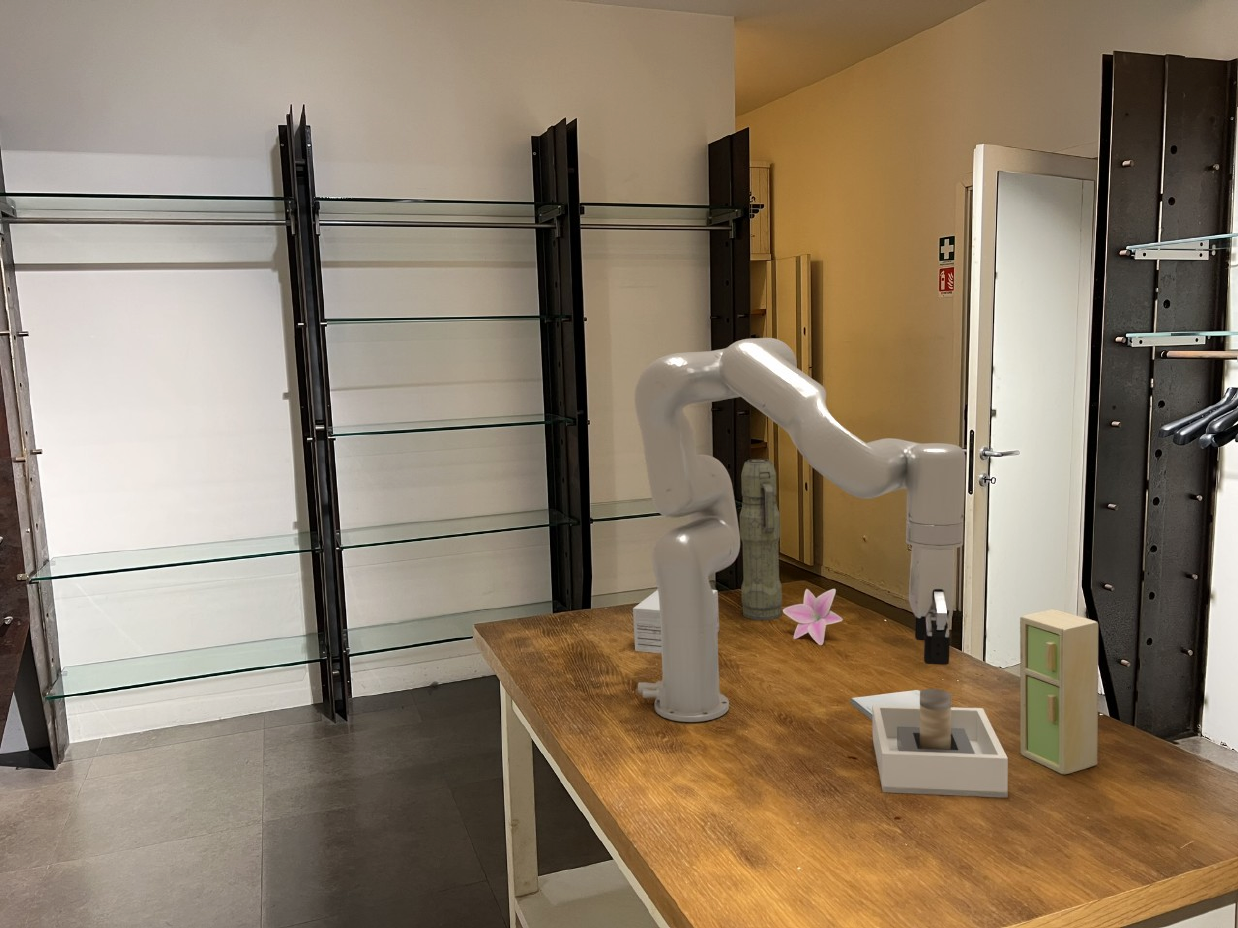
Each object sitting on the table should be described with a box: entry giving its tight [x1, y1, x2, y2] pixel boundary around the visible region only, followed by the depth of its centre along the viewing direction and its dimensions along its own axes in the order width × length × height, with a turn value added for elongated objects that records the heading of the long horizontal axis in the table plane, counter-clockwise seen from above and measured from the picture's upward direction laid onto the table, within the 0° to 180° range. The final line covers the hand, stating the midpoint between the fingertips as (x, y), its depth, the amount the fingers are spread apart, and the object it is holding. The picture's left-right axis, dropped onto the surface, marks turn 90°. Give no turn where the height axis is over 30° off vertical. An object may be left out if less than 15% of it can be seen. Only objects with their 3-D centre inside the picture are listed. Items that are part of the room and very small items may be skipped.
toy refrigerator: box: [1019, 608, 1099, 775], centre depth 133 cm, size 8×7×21 cm
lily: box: [782, 588, 844, 646], centre depth 194 cm, size 12×12×10 cm
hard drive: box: [849, 689, 921, 722], centre depth 156 cm, size 2×8×12 cm
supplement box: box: [632, 589, 720, 654], centre depth 195 cm, size 17×13×9 cm
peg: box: [920, 688, 952, 750], centre depth 133 cm, size 4×4×10 cm
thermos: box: [739, 458, 783, 621], centre depth 209 cm, size 9×12×35 cm
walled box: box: [872, 705, 1009, 799], centre depth 134 cm, size 16×17×6 cm
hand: (931, 651), depth 132 cm, fingers open, 9 cm apart
